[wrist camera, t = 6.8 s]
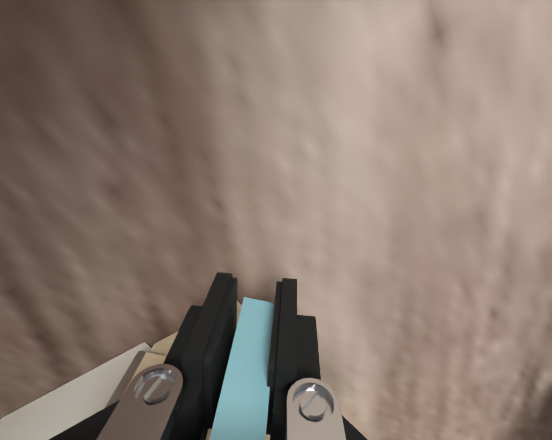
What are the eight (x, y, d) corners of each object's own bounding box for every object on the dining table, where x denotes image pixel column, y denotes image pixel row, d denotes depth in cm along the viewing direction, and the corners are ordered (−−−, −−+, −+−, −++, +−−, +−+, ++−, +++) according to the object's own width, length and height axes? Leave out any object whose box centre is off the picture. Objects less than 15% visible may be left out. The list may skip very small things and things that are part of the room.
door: (138, 232, 13) (-168, 523, 4) (293, 264, 13) (290, 602, 5) (136, 357, 16) (-45, 671, 8) (262, 381, 17) (225, 714, 8)
